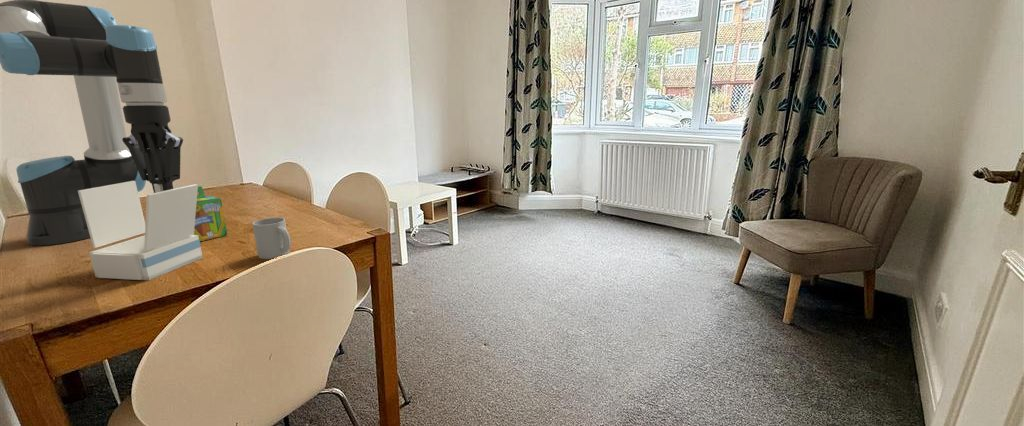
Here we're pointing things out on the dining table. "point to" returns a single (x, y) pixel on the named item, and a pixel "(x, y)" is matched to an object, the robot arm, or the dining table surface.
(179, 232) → the flap
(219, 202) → the chalk box
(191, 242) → the carton
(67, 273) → the dining table surface
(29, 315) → the dining table surface
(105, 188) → the flap
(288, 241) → the cup
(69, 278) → the dining table surface
